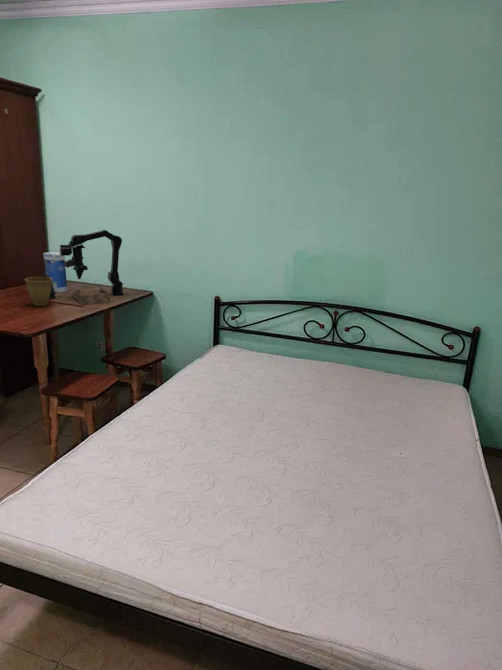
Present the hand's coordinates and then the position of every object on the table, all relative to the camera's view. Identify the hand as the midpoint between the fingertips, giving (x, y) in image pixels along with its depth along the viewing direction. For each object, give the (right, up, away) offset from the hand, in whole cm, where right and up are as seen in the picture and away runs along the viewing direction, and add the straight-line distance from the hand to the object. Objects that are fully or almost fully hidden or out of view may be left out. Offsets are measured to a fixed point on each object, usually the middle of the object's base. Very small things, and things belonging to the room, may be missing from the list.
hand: (79, 279), depth 304 cm
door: (+7, -12, +2) cm, 14 cm away
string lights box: (-23, -6, +19) cm, 30 cm away
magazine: (-22, -13, -3) cm, 25 cm away
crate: (+10, -14, -5) cm, 18 cm away
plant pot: (-16, -18, -19) cm, 31 cm away
